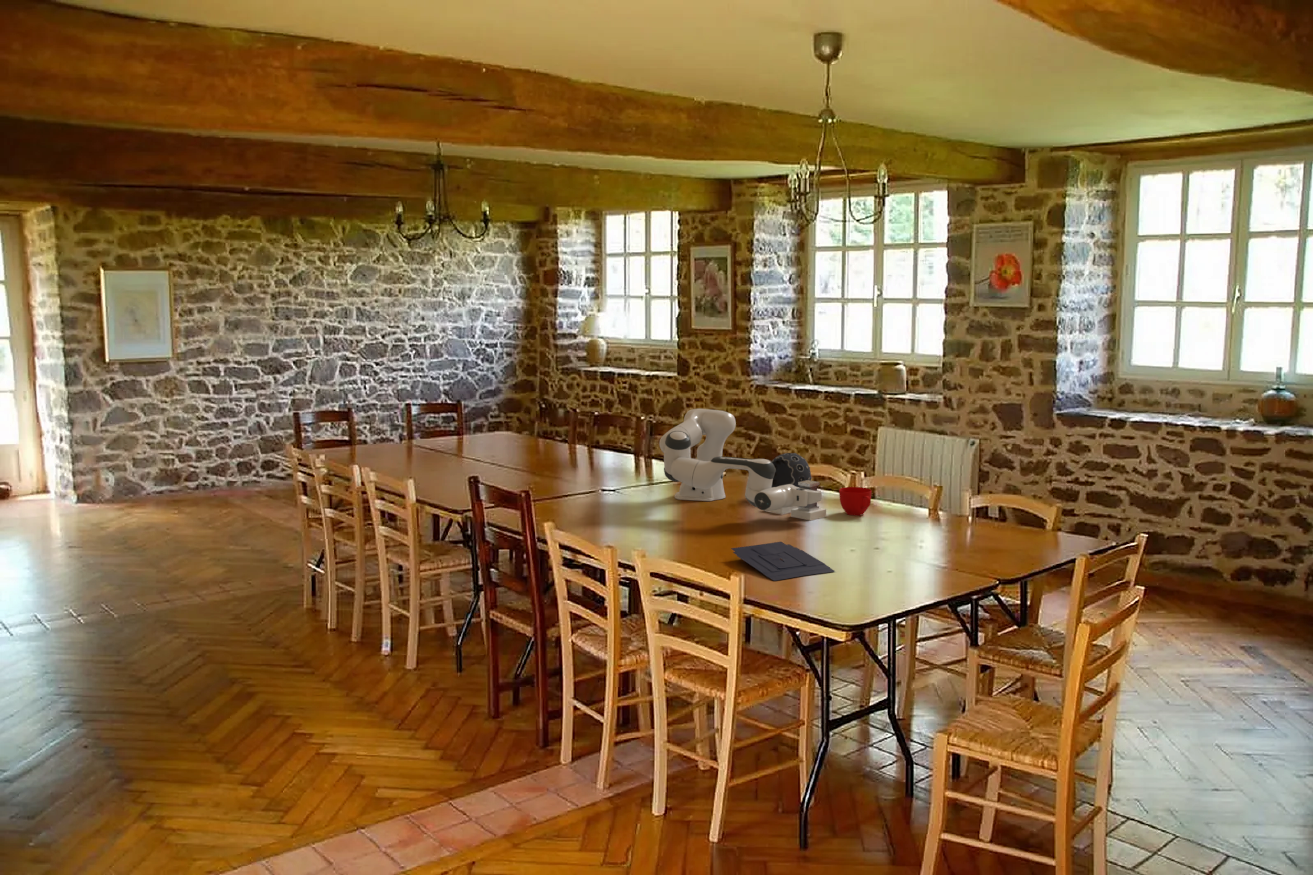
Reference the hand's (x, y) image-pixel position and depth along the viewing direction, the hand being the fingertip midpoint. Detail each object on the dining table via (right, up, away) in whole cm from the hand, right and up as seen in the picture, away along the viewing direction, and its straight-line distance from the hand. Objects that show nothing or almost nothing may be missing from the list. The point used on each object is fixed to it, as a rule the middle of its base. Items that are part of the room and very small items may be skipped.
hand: (810, 490), depth 423 cm
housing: (-1, -7, 0) cm, 8 cm away
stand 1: (-10, -9, +12) cm, 18 cm away
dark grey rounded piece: (-4, -5, +37) cm, 38 cm away
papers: (-21, -22, -73) cm, 79 cm away
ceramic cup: (+20, -10, +4) cm, 23 cm away
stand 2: (-1, -10, +1) cm, 11 cm away
